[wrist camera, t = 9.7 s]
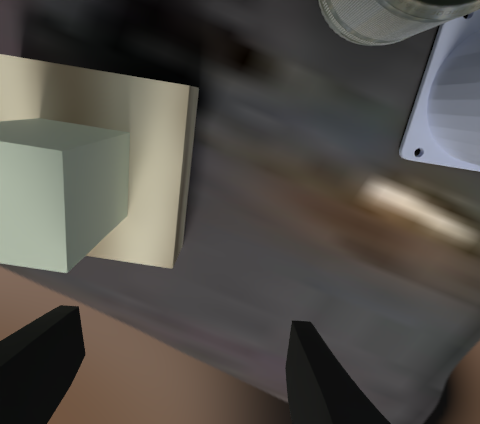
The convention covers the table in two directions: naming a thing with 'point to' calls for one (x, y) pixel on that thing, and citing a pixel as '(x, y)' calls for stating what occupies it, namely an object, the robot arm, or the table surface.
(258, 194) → the table surface
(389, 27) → the camera lens
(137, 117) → the birch block
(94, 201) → the sage block
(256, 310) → the table surface
